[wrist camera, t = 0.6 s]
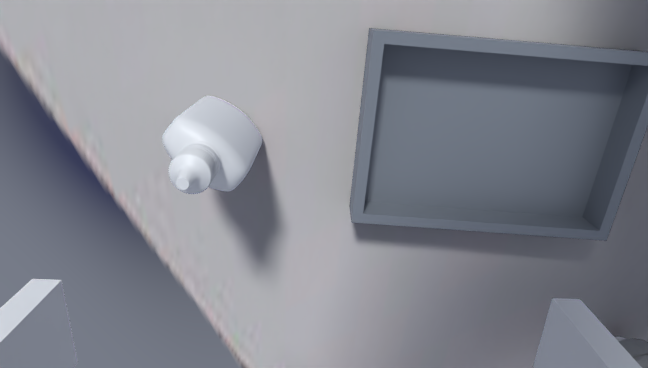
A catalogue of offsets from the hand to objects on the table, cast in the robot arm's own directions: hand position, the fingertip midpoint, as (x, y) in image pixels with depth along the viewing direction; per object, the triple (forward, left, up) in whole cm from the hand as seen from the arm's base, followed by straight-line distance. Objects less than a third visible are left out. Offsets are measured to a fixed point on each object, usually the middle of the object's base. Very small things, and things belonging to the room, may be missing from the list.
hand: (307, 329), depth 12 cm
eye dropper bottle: (+1, -7, -24) cm, 25 cm away
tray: (0, +13, -24) cm, 27 cm away
